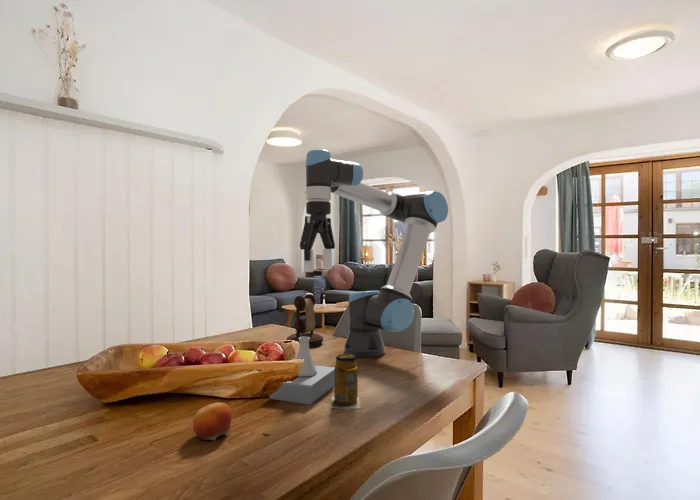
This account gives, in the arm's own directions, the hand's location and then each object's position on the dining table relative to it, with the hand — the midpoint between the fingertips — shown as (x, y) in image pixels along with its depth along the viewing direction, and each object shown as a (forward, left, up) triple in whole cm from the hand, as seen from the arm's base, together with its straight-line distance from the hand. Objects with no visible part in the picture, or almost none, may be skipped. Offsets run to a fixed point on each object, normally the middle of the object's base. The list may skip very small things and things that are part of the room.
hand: (318, 270), depth 132 cm
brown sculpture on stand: (-36, -23, -33) cm, 54 cm away
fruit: (+45, -4, -33) cm, 56 cm away
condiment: (+17, +16, -33) cm, 41 cm away
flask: (+14, +2, -28) cm, 31 cm away
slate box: (+14, +2, -33) cm, 36 cm away
